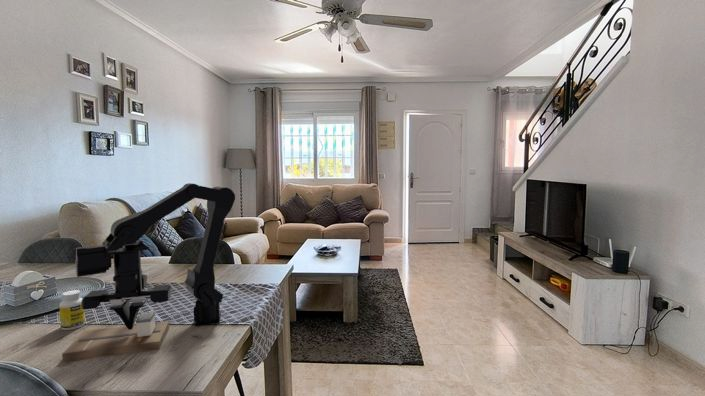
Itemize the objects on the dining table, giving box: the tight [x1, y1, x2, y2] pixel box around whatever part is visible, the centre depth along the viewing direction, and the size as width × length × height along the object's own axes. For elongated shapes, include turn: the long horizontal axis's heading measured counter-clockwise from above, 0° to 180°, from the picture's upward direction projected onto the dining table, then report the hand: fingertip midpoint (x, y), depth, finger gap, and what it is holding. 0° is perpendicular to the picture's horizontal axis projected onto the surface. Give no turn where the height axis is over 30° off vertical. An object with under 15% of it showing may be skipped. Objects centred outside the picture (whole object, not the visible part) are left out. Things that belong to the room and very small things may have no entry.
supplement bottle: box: [58, 289, 86, 331], centre depth 100 cm, size 5×5×10 cm
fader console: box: [61, 320, 170, 363], centre depth 91 cm, size 20×12×2 cm, turn 107°
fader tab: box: [135, 311, 156, 337], centre depth 92 cm, size 3×5×4 cm, turn 17°
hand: (130, 328), depth 91 cm, fingers closed
